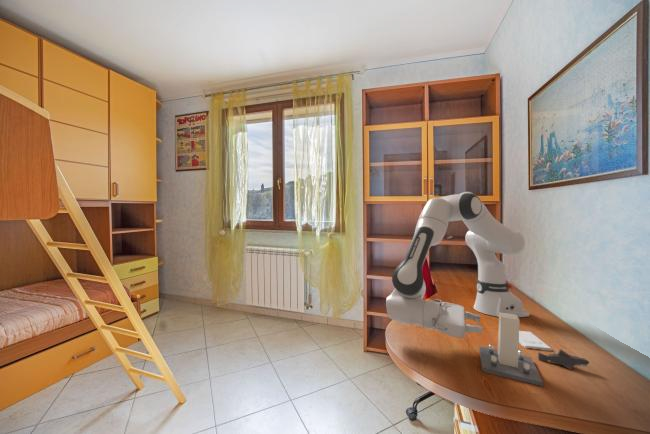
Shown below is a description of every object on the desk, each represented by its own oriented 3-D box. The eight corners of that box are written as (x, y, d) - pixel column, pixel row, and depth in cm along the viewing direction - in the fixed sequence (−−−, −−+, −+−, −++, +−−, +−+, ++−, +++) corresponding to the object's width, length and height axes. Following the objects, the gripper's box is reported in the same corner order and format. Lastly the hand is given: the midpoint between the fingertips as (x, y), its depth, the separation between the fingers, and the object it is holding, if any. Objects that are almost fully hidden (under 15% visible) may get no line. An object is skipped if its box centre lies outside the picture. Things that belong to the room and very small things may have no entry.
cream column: (497, 356, 84) (499, 312, 84) (515, 360, 82) (516, 314, 82) (499, 363, 80) (501, 317, 80) (517, 367, 78) (519, 320, 78)
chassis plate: (479, 349, 90) (479, 338, 90) (530, 360, 84) (531, 349, 84) (482, 371, 78) (482, 358, 78) (542, 386, 71) (543, 372, 71)
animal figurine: (540, 367, 83) (537, 350, 83) (538, 360, 87) (535, 344, 87) (592, 373, 77) (589, 355, 77) (588, 366, 80) (584, 348, 81)
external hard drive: (530, 335, 102) (552, 352, 90) (507, 333, 104) (524, 349, 92) (531, 331, 102) (552, 348, 90) (507, 329, 104) (525, 345, 92)
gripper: (431, 316, 81) (484, 326, 74) (436, 297, 99) (479, 304, 93) (430, 337, 81) (483, 348, 74) (435, 314, 99) (478, 322, 93)
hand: (481, 323), depth 84 cm, fingers open, 8 cm apart
